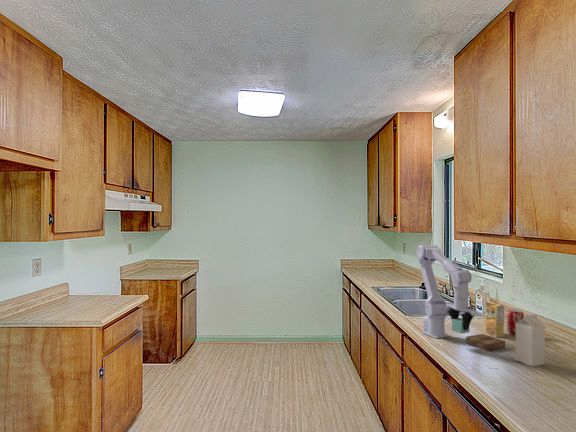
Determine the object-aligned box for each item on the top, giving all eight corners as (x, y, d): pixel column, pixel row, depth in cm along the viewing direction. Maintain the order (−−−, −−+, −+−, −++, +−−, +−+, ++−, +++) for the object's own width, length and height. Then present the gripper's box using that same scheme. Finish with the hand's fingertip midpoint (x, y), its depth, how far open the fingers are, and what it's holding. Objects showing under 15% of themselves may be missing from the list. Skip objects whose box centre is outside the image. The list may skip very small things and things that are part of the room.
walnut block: (466, 344, 171) (466, 336, 171) (482, 341, 175) (482, 333, 175) (487, 352, 161) (488, 344, 161) (504, 349, 165) (505, 341, 165)
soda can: (527, 335, 183) (527, 311, 183) (516, 337, 181) (517, 312, 181) (513, 331, 190) (514, 307, 190) (503, 332, 187) (504, 309, 187)
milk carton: (515, 360, 151) (515, 313, 151) (527, 358, 154) (528, 311, 154) (532, 367, 144) (532, 317, 144) (544, 364, 147) (545, 316, 147)
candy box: (484, 331, 189) (485, 301, 189) (492, 331, 189) (492, 301, 189) (496, 337, 180) (496, 305, 180) (504, 337, 180) (504, 305, 180)
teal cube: (451, 330, 167) (451, 319, 167) (459, 328, 169) (459, 317, 169) (461, 333, 163) (461, 322, 163) (469, 332, 165) (469, 320, 165)
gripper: (441, 294, 171) (441, 324, 171) (468, 301, 158) (468, 333, 158) (452, 293, 174) (452, 322, 174) (480, 300, 161) (479, 331, 161)
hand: (460, 327), depth 166 cm, fingers closed on teal cube, 5 cm apart
